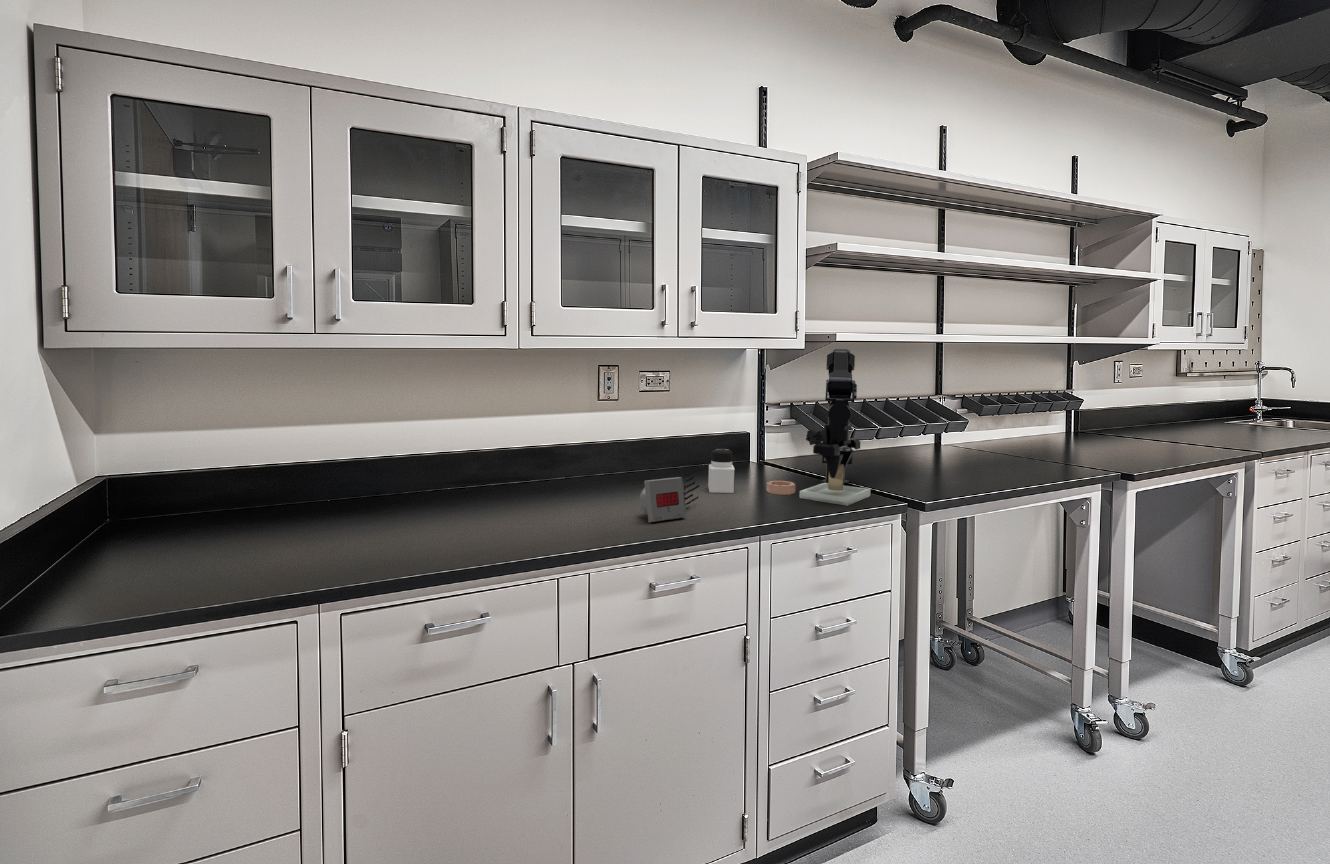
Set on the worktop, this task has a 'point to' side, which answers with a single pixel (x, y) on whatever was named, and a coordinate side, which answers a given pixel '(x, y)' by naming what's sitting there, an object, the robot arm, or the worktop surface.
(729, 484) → the medicine bottle
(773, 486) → the cup ring
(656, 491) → the voltmeter
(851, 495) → the tray
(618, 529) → the worktop surface
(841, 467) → the dowel
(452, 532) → the worktop surface
